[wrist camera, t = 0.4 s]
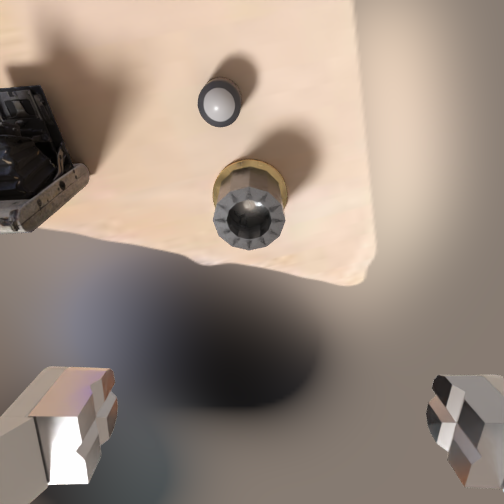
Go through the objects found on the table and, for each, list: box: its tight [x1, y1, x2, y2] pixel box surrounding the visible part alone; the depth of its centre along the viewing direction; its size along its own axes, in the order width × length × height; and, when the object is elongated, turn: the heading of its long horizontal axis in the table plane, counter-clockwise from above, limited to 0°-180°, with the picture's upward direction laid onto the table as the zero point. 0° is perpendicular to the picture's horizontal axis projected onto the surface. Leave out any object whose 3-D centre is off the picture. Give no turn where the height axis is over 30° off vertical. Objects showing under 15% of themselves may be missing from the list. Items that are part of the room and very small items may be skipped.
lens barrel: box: [213, 159, 287, 250], centre depth 55 cm, size 13×13×9 cm
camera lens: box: [198, 77, 242, 127], centre depth 48 cm, size 6×6×4 cm
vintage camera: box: [0, 85, 89, 234], centre depth 45 cm, size 10×15×20 cm, turn 4°
